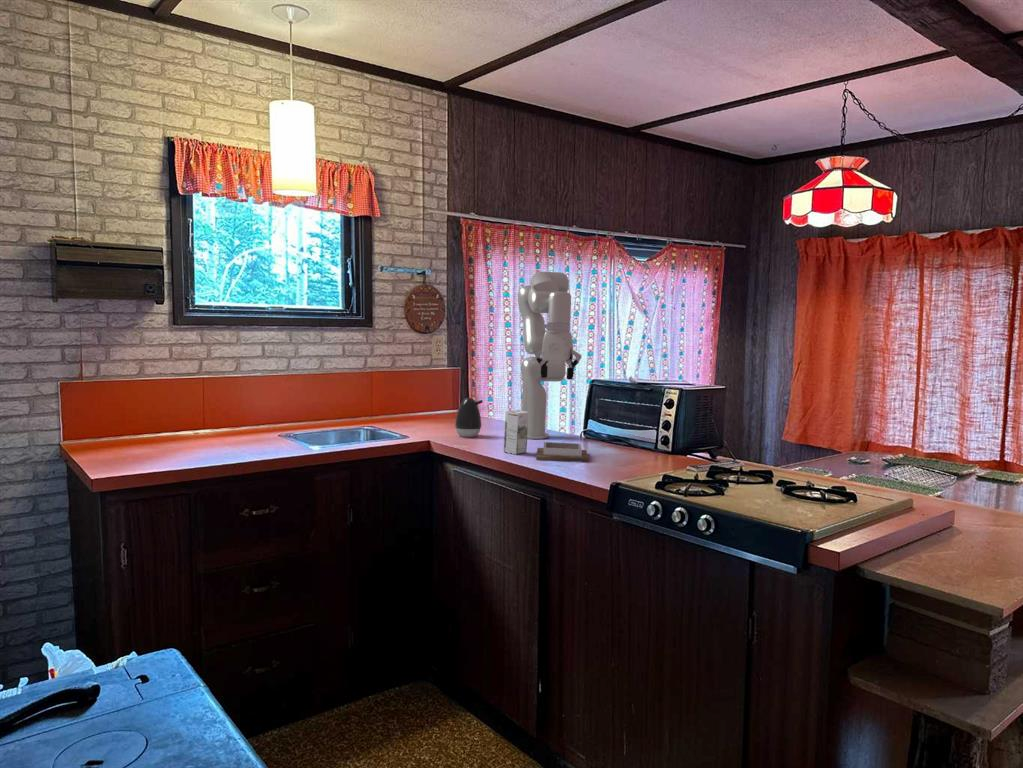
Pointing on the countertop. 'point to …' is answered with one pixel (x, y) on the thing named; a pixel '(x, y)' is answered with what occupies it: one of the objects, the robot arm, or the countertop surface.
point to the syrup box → (516, 432)
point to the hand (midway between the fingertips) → (556, 378)
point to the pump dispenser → (468, 418)
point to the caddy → (562, 452)
